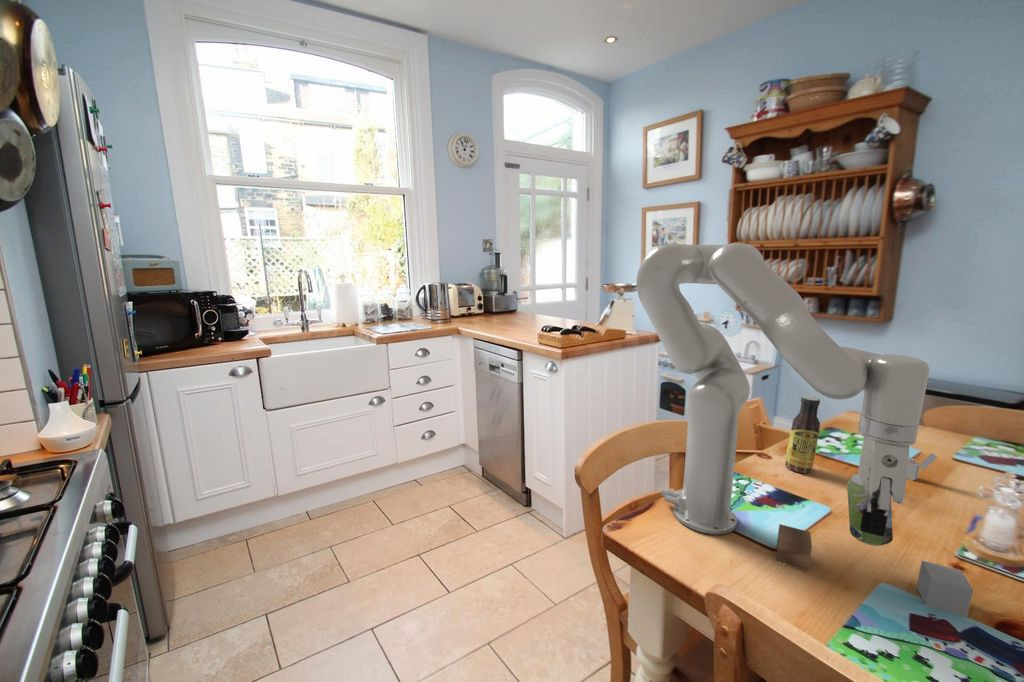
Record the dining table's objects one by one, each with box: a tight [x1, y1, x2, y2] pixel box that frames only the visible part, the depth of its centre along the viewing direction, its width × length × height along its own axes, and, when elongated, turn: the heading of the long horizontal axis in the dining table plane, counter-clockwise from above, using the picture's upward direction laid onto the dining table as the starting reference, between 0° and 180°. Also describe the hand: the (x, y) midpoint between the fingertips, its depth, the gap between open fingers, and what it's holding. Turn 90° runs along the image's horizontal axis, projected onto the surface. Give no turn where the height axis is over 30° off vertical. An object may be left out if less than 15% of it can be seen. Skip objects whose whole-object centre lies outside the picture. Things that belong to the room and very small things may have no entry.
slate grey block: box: [916, 560, 974, 618], centre depth 74 cm, size 5×5×5 cm
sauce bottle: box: [785, 395, 821, 474], centre depth 118 cm, size 7×6×20 cm
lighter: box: [907, 452, 938, 481], centre depth 114 cm, size 7×2×8 cm, turn 33°
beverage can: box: [846, 472, 894, 547], centre depth 80 cm, size 6×7×12 cm
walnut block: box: [775, 523, 813, 572], centre depth 84 cm, size 5×5×5 cm
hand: (869, 525), depth 79 cm, fingers closed on beverage can, 3 cm apart
